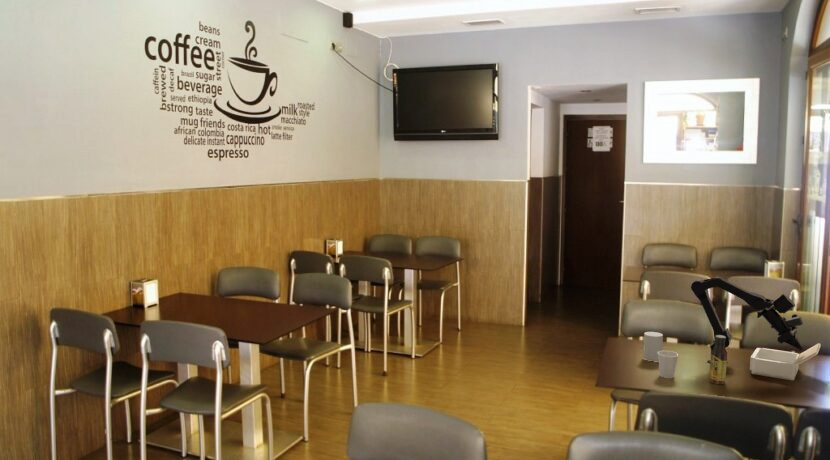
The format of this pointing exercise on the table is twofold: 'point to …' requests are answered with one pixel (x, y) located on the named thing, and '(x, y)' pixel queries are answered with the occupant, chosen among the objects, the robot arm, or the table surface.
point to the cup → (652, 345)
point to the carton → (774, 363)
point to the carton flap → (808, 354)
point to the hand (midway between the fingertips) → (802, 349)
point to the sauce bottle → (718, 361)
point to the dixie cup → (667, 363)
